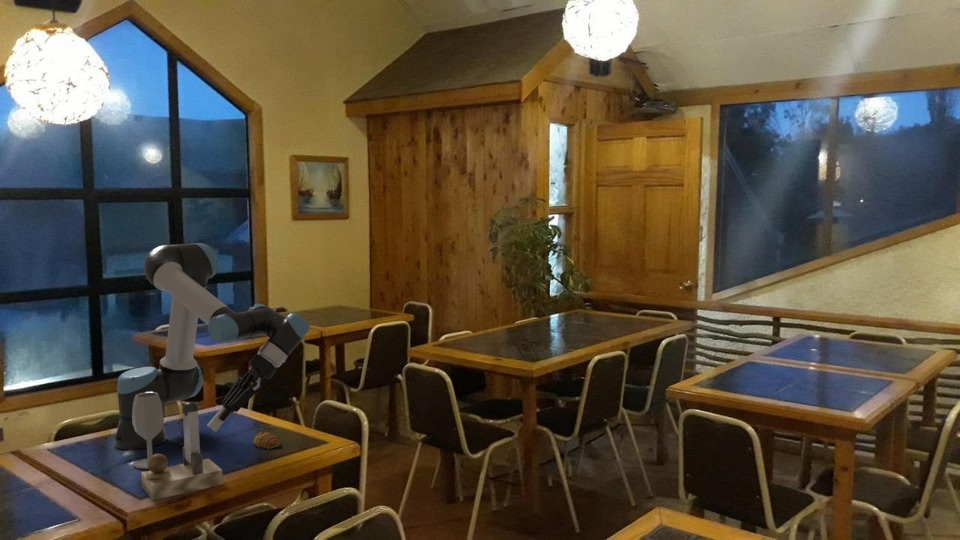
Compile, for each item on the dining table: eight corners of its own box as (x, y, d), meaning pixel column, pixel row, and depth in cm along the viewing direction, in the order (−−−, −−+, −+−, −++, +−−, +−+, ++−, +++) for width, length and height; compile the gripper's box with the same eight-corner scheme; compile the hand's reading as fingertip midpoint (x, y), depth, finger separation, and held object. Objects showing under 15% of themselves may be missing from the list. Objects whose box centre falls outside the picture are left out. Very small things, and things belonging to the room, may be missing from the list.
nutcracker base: (152, 500, 197) (150, 462, 197) (141, 486, 207) (139, 450, 206) (222, 484, 208) (221, 448, 207) (209, 472, 218) (207, 437, 217)
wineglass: (146, 471, 219) (142, 399, 217) (127, 466, 223) (123, 395, 221) (172, 462, 226) (169, 393, 224) (154, 458, 231) (150, 389, 229)
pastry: (285, 446, 241) (285, 434, 240) (267, 452, 236) (266, 439, 235) (269, 440, 247) (268, 428, 247) (250, 445, 242) (250, 433, 242)
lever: (189, 470, 205) (185, 406, 203) (181, 463, 211) (178, 400, 209) (204, 467, 207) (201, 403, 206) (196, 460, 213) (193, 398, 211)
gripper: (285, 372, 216) (228, 442, 208) (268, 365, 226) (213, 430, 218) (266, 356, 212) (208, 426, 204) (250, 349, 223) (193, 415, 215)
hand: (211, 428), depth 211 cm, fingers closed
